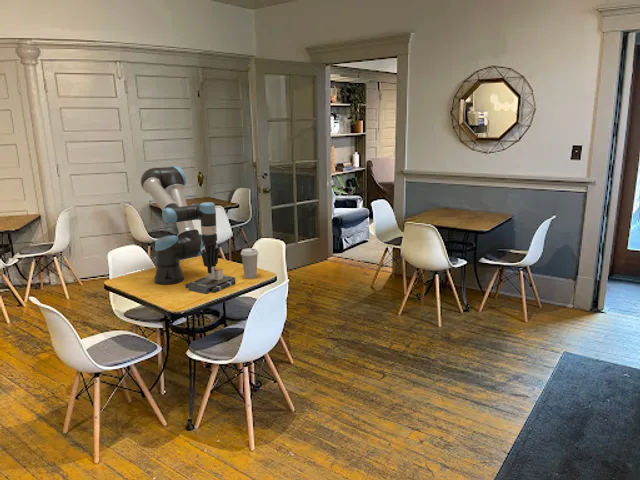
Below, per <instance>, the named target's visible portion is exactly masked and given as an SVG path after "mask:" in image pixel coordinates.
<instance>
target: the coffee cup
mask: <svg viewBox="0 0 640 480" xmlns="http://www.w3.org/2000/svg"><path fill="white" fill-rule="evenodd" d="M240 255H241V261H242V266H243V267H242V269H243V274H244V278H245V279H254V278H257V277H256V276H258V275H257V272H258V258H259V257H258V256H259V251H258V249H257V248H253V247H252V248H251V247H249V248H243V249H241V251H240Z"/></svg>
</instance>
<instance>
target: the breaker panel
mask: <svg viewBox="0 0 640 480" xmlns="http://www.w3.org/2000/svg"><path fill="white" fill-rule="evenodd" d="M232 280H234V281H235V282H236V277H235V276H230V275H225V274H223V279H221V280H219V281H218V280H213V279H209V278H206V279H203V280H201V281H198V282H196V283H193V284H191V285H188V288H187V289H188V291H191V292H196V293H200V294H204V295H207V294H210V293H212V289H213V288H215V287H216V286H220V285H222V284H225V283H226V282H229V281H232Z"/></svg>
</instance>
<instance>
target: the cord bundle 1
mask: <svg viewBox="0 0 640 480" xmlns="http://www.w3.org/2000/svg"><path fill="white" fill-rule="evenodd" d="M206 278H209V275H207V276H203V277H201V278H199V279H195V280H194V281H190V282H188V283H185V284H184V286H185V289H188V285H191V284H193V283H196V282H198V281H201V280H203V279H206Z"/></svg>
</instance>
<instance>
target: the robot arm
mask: <svg viewBox="0 0 640 480" xmlns="http://www.w3.org/2000/svg"><path fill="white" fill-rule="evenodd" d="M141 175H142V176H141V177H140V185H141V187H142V189H143V191H144V192H145V193H147V194H149V196H151V198H152V199H153V200H154V202H155V203H156V204H157V205H158V206H159V208H160V209H161V211H162V212H161V216H162V220H163V222H164V223H166V224H175V225H176V227H177V231H178V233H177V235H173V234H171V235H166V236H162V237H159V238H158V239H156V240H155V242H154V253H155V261H156V270H155V275H154V278H153V279H154V281H153V282H154V283H155V284H157V285H162V286H163V285H173V284H175V285H176V284H179V283H181V282H183V281H184V280H185V275H184V273H183V270H182V267H181V265H180V263H181V262H180V260H186V259H191V258H197V257H200V256H201V259H202V263H203V266H204V267H206V268H207V274H208V276H209V279H215V274H214V272H215V267H217V264H218V263H219V253H220V248H221V244H217V241H218V234H217V232H218V231H217V213H216V212H217V210H216V205H215V203H214V202H210V201H207V202H202V203H193V204H191V205H188V203H187V200H186V197H185V194H184V189H185V186H186V183H187V179H186V174H185V172H184V170H183V169H182V168H181V167H179V166H162V167H151V168H148V169H147V170H145V171H144V172H143V174H141ZM197 220H199V221H200V229H201V230H200V232H201V233H200V232H199V230H198V229H196V228H195V225H194V223H193V221H197Z"/></svg>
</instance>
